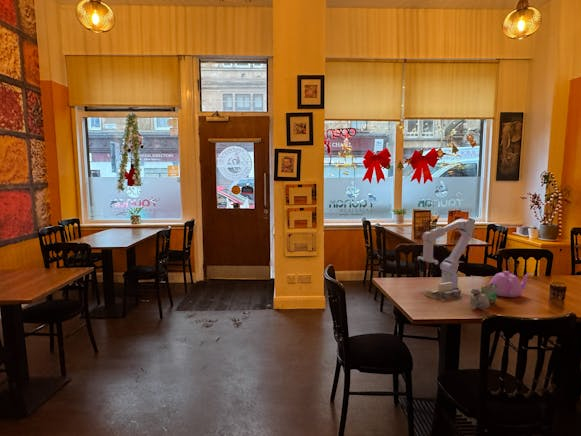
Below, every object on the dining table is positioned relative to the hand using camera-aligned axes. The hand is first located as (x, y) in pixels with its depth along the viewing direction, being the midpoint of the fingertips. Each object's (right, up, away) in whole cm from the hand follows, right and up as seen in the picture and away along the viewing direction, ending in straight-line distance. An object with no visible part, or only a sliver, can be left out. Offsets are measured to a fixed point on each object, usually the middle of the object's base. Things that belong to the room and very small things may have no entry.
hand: (427, 273), depth 233 cm
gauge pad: (+3, -10, -14) cm, 18 cm away
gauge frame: (+5, -11, -12) cm, 17 cm away
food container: (+25, -13, -26) cm, 39 cm away
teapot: (+45, -11, -9) cm, 47 cm away
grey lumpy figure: (+14, -14, -36) cm, 41 cm away
